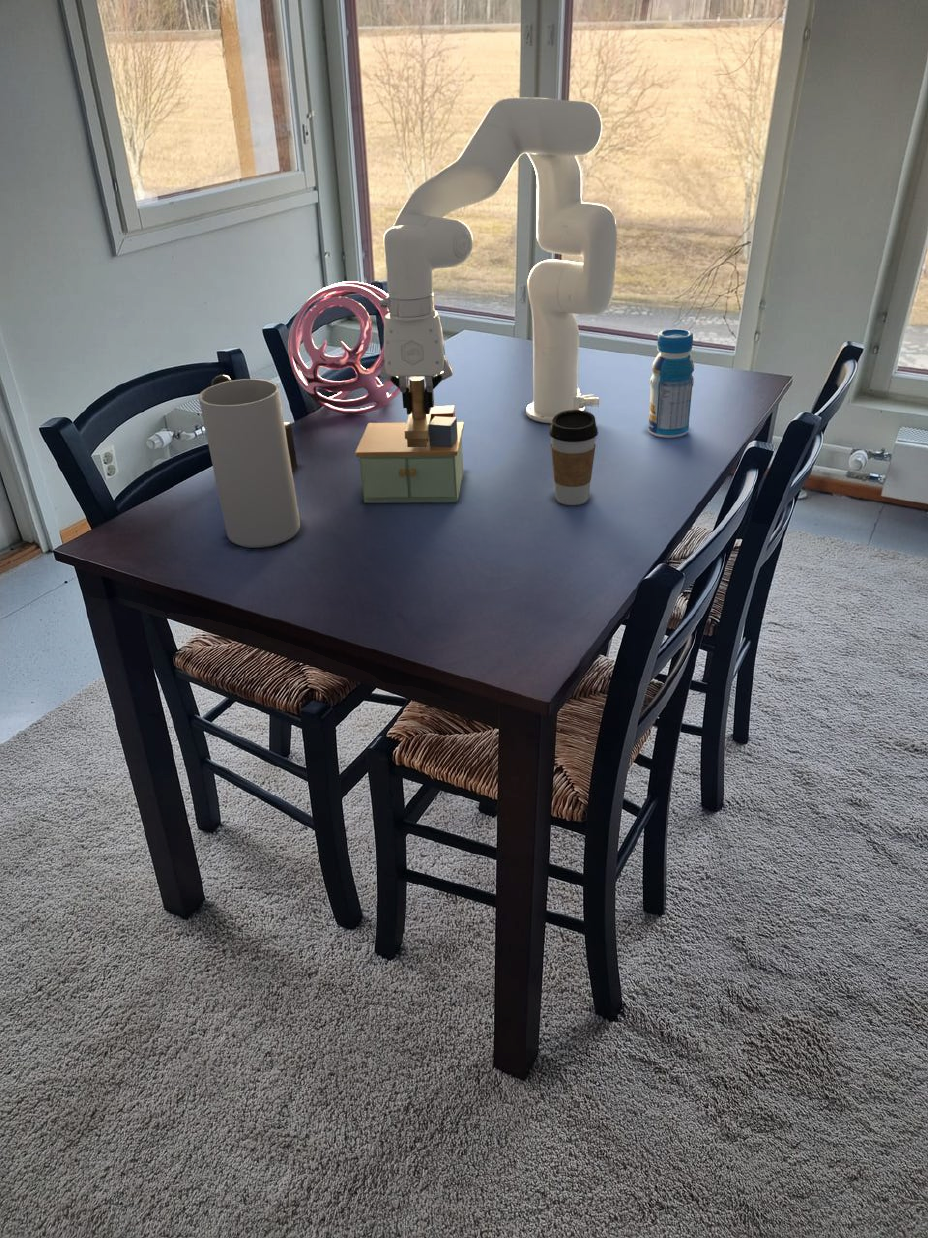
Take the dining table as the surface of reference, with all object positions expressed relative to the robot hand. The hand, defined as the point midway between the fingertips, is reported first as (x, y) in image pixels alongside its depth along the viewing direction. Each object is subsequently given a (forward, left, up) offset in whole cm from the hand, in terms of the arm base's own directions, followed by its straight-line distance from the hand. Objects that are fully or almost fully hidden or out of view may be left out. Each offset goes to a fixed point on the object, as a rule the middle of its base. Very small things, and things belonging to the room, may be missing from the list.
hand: (419, 410), depth 166 cm
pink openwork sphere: (+21, -42, -15) cm, 49 cm away
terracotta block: (-4, -3, -5) cm, 7 cm away
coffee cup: (-27, +5, -15) cm, 31 cm away
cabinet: (+2, 0, -15) cm, 15 cm away
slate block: (-5, +3, -5) cm, 7 cm away
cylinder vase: (+26, +18, -15) cm, 35 cm away
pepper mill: (+35, -7, -15) cm, 39 cm away
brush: (0, 0, -4) cm, 4 cm away
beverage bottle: (-47, -26, -15) cm, 56 cm away
